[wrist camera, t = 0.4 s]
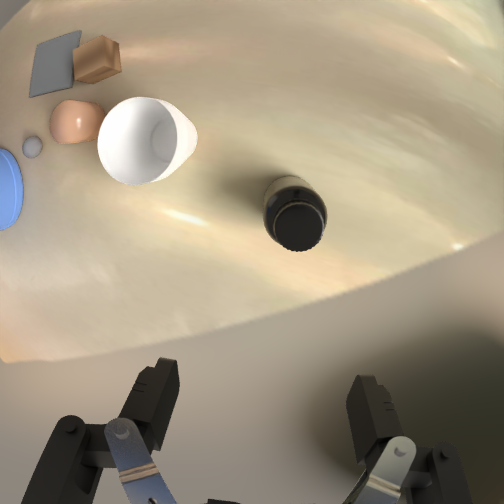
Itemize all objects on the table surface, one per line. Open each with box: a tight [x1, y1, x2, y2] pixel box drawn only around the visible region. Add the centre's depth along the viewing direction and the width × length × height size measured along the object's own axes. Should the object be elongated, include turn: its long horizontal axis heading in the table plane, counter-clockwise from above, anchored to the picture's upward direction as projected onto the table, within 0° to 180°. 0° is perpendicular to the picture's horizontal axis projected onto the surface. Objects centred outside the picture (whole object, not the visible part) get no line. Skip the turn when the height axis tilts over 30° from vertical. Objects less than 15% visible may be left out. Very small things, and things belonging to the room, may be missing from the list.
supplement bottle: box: [263, 176, 327, 252], centre depth 32 cm, size 7×7×12 cm
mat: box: [29, 30, 82, 97], centre depth 31 cm, size 10×10×1 cm
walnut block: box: [73, 35, 122, 84], centre depth 29 cm, size 5×5×5 cm
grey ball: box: [23, 136, 42, 158], centre depth 35 cm, size 4×4×4 cm
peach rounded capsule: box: [50, 100, 105, 144], centre depth 32 cm, size 6×6×6 cm
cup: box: [98, 97, 197, 185], centre depth 30 cm, size 9×9×12 cm
